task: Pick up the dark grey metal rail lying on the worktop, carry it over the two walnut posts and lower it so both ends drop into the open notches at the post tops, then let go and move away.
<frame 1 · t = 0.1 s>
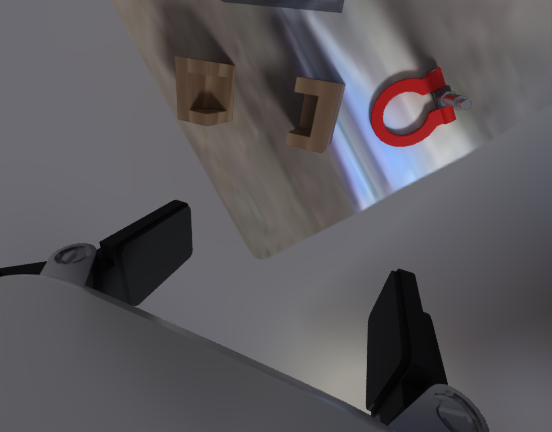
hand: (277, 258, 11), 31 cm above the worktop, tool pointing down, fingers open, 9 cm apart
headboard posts: (268, 101, 39), on the worktop
tow hook: (407, 112, 33), on the worktop
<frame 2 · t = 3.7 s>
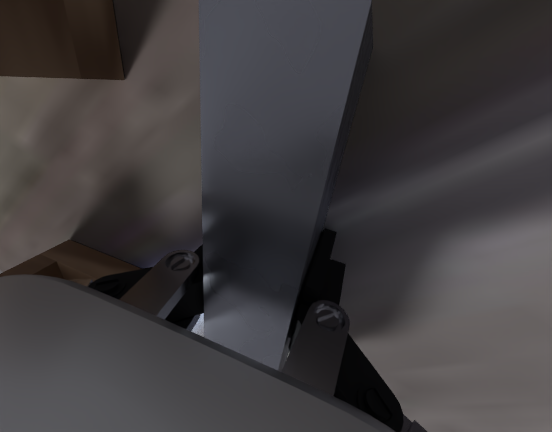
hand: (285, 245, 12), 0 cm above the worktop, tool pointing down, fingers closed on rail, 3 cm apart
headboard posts: (89, 180, 15), on the worktop
rail: (287, 242, 12), on the worktop, touching gripper
when the fingers open (4 cm above the worktop, at t = 7.5 s): rail drops 1 cm, resting on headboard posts.
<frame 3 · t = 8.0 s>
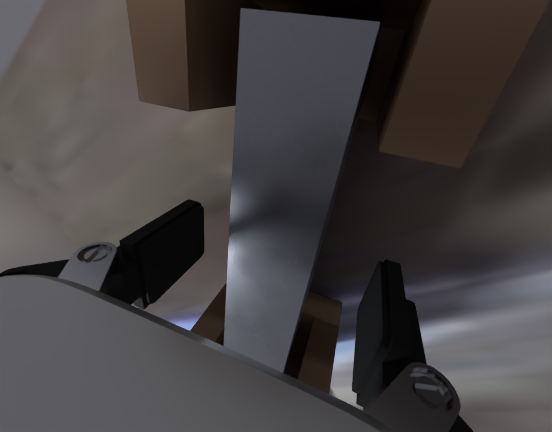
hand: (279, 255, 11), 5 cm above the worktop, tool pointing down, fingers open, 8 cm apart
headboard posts: (303, 213, 15), on the worktop
rail: (297, 229, 13), point 2 cm above the worktop, touching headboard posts
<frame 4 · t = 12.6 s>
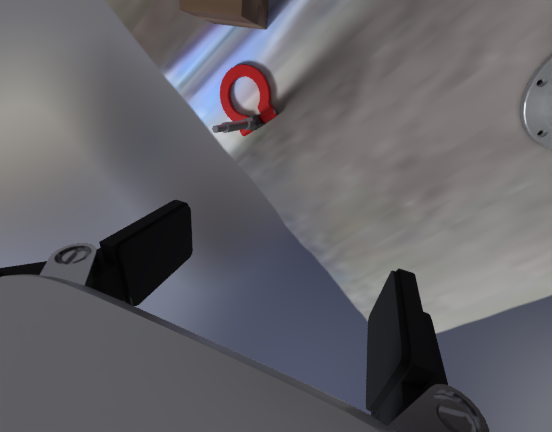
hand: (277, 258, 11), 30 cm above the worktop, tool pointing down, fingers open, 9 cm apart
tow hook: (248, 98, 39), on the worktop
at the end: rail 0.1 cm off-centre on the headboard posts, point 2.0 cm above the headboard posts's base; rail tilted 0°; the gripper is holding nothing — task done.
